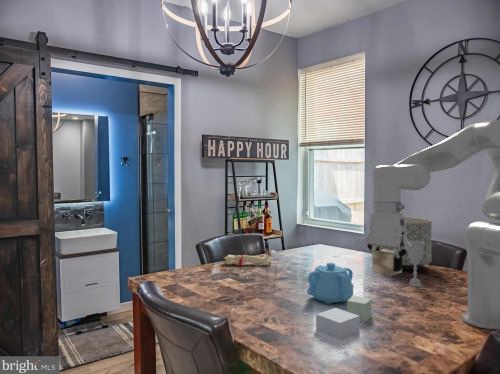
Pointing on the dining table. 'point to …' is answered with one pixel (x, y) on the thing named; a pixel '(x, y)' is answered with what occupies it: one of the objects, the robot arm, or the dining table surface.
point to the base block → (337, 323)
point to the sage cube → (360, 307)
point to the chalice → (416, 260)
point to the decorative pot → (331, 284)
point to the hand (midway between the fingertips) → (387, 268)
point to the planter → (417, 232)
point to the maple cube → (384, 262)
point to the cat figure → (247, 259)
